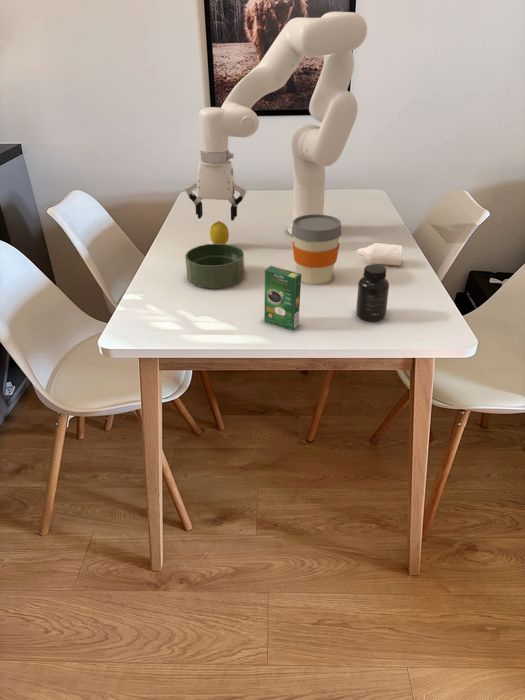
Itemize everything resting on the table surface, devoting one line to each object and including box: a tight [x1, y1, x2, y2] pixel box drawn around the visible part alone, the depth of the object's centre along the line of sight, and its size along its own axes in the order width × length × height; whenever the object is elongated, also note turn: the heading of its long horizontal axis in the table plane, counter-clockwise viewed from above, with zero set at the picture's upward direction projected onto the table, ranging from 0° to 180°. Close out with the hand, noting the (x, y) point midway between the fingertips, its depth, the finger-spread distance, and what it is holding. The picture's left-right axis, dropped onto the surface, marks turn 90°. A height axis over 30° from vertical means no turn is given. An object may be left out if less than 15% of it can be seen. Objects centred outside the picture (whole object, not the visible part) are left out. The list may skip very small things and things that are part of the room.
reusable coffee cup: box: [291, 214, 342, 285], centre depth 144 cm, size 12×13×15 cm
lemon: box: [209, 220, 230, 244], centre depth 164 cm, size 6×6×8 cm
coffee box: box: [263, 265, 302, 331], centre depth 123 cm, size 8×3×13 cm, turn 57°
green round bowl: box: [184, 243, 245, 289], centre depth 147 cm, size 15×15×6 cm
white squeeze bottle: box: [356, 242, 403, 267], centre depth 154 cm, size 6×12×6 cm, turn 78°
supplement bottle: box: [355, 263, 390, 323], centre depth 126 cm, size 7×7×12 cm
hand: (216, 218), depth 161 cm, fingers open, 9 cm apart
